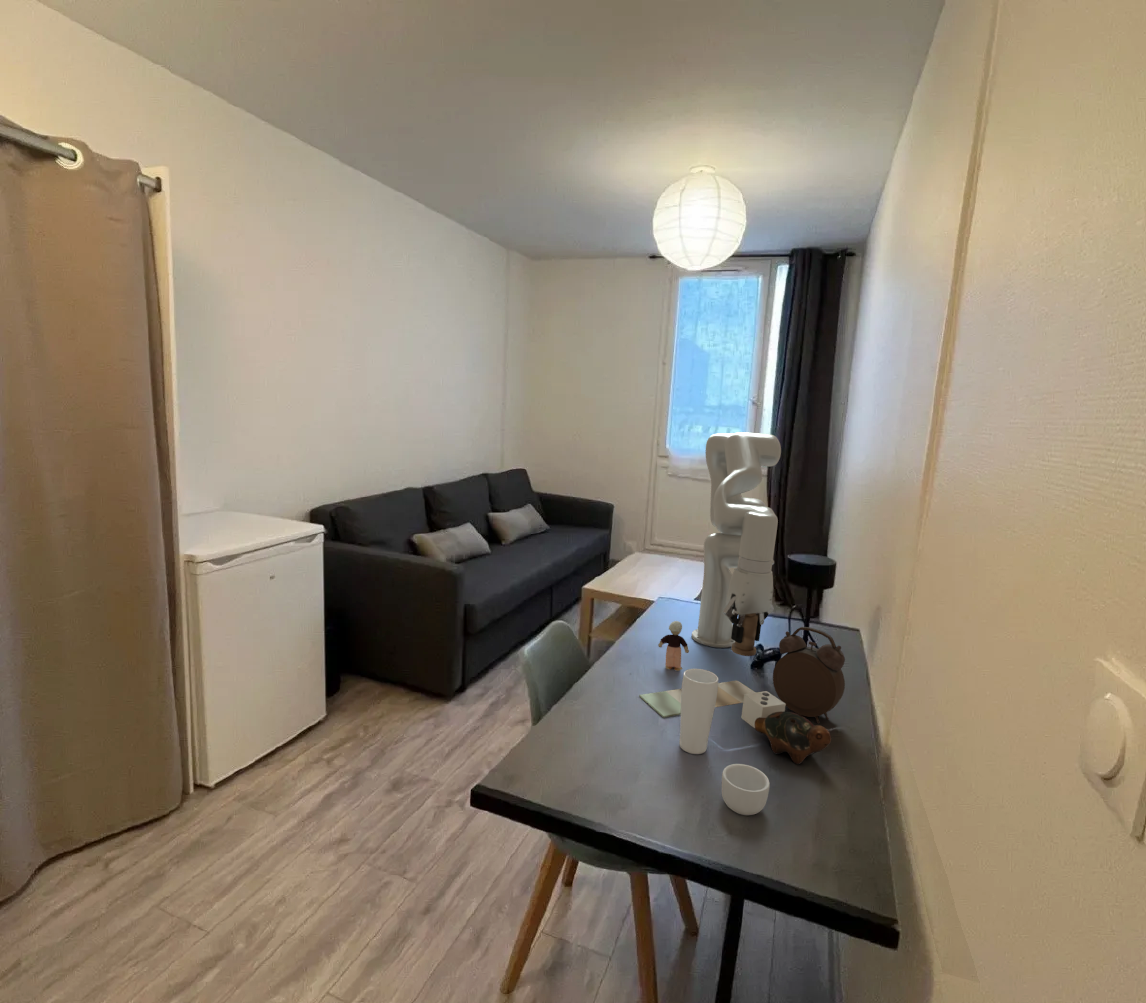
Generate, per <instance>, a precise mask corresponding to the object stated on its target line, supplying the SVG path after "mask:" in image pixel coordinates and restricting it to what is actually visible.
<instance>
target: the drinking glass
mask: <svg viewBox="0 0 1146 1003" xmlns="http://www.w3.org/2000/svg"><path fill="white" fill-rule="evenodd" d="M718 683H719V677H718V676H717V674H715V673H714V672H712V671H709V670H708V669H702V668H688V669H687V670H684V671H683V674H682V681H681V688H680V689H681V715H680V720H679V721H680V725H679V726H680V728H679V730H680V731H679V741H678V743H679V747H680V748H681V750H683V751H684V752H686V753H688V754H691V755H701V754H704V753H706V751H707V748H708V741H709V738H710V737H709V736H710V731H711V728H712V721H713V719H714V718H713V716H714V712H715V708H716V707H715V704H716V699H717V692H718Z"/></svg>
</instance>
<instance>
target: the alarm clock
mask: <svg viewBox="0 0 1146 1003" xmlns="http://www.w3.org/2000/svg"><path fill="white" fill-rule="evenodd" d="M800 631H809V632H813V633H816V634H819V635H822V636H823V637H824V638H827V639H828V640H829V642H830V644H823V645H821V646H820V647H819V648H816V646H817V643H816V642H813V641H809V642H808V645H810V646H807V644H806V642H805V640H804V639H803V637H802V636H800V635H798V633H799V632H800ZM778 646H779V652H780V654H785V655H782V657H781V658H779V660H777V662H776V664H775V666H774V668H773V673H772V683H773V688H774V690H775V693H776V694H777V696H778V697H777V698H778V699H779V700H781V701H782V702H784V703H785V704H786V706H785V708H788V709H789V710H791V712H792V713H796V714H798V715H801V716H803V717H809V718H812V717H813V718H815V720H816V723H817V724H820V722H821V721H820V720H819V717H820V716H822V715H824V717H825V720H829V719H830V718H829V717H828V712H830V711H831V710H832V709H834V708H835V707H836V706H837V705H838V704H839V702H840V701H841V699H842V698H843V696H844V693H845V688H846V683H845V682H846V681H845V676H844V673H843V670H842V669H843V667H844V665H845V662H846V658H845V654H844V653H843V651H841V649H842V646H841V645H836V643H835V640H834V638H833V637H832V636H831V635H830V634H828V633H826V632H825V631H822V630H821V629H817V628H814V627H808V626H800V627H798V628H796V630H795V631H794V632H793V633H792V634H791V633H790V632H789V631H788V630H787V631H786V632H785V636H784V637H782V638H781V639H780V641H779V644H778Z"/></svg>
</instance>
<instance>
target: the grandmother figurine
mask: <svg viewBox="0 0 1146 1003" xmlns="http://www.w3.org/2000/svg"><path fill="white" fill-rule="evenodd" d="M668 630H669V631H670V633H671V634H666V635H664V636H663V637H662V638H661V639H660V641H659V643H658V645H657V646H658V648H662V647H663V645H664V644H667V646H666V652H665V669H666V670H671V669H673V668H674V669H673V670H675V671H677V672H678V671H679V672H680V671H681V670H683V668H682V648H683V650H684V653H686V654H689V653H690V650H689V646H688V643H687V642H686V639H685V638H684V637H683V636H681V635H680V634H681V632H682V630H683V624H682V622H681V621H680V620H679V621H678V620H674V621H671V623H670V624H669V625H668ZM681 646H682V647H681Z"/></svg>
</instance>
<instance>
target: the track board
mask: <svg viewBox="0 0 1146 1003" xmlns="http://www.w3.org/2000/svg"><path fill="white" fill-rule="evenodd" d="M749 693H756V691H754V690H753V689H751V688H749V687H748V686H747V685H746V684H743V683H742V682H740V681H739V680H737V679H736V680H731V681H724V682H718V692H717V699H716V704H715V708H721V707H725V706H730V705H731V706H733V705H736V704H743V701H744V694H749ZM638 697H639V698H640V699H641V700H643V701H644V702H645V703H646V704H647V703H648V704H647V705H648V706H650V708H652V709H653V710H654V711H655V712H656V713H657V714H659V715H660V716H661V717H662V719H664V718H669V717H676V716H681V688H677V689H671V690H669V689H668V690H662V691H655V692H651V693H644V694H639V696H638Z"/></svg>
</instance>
